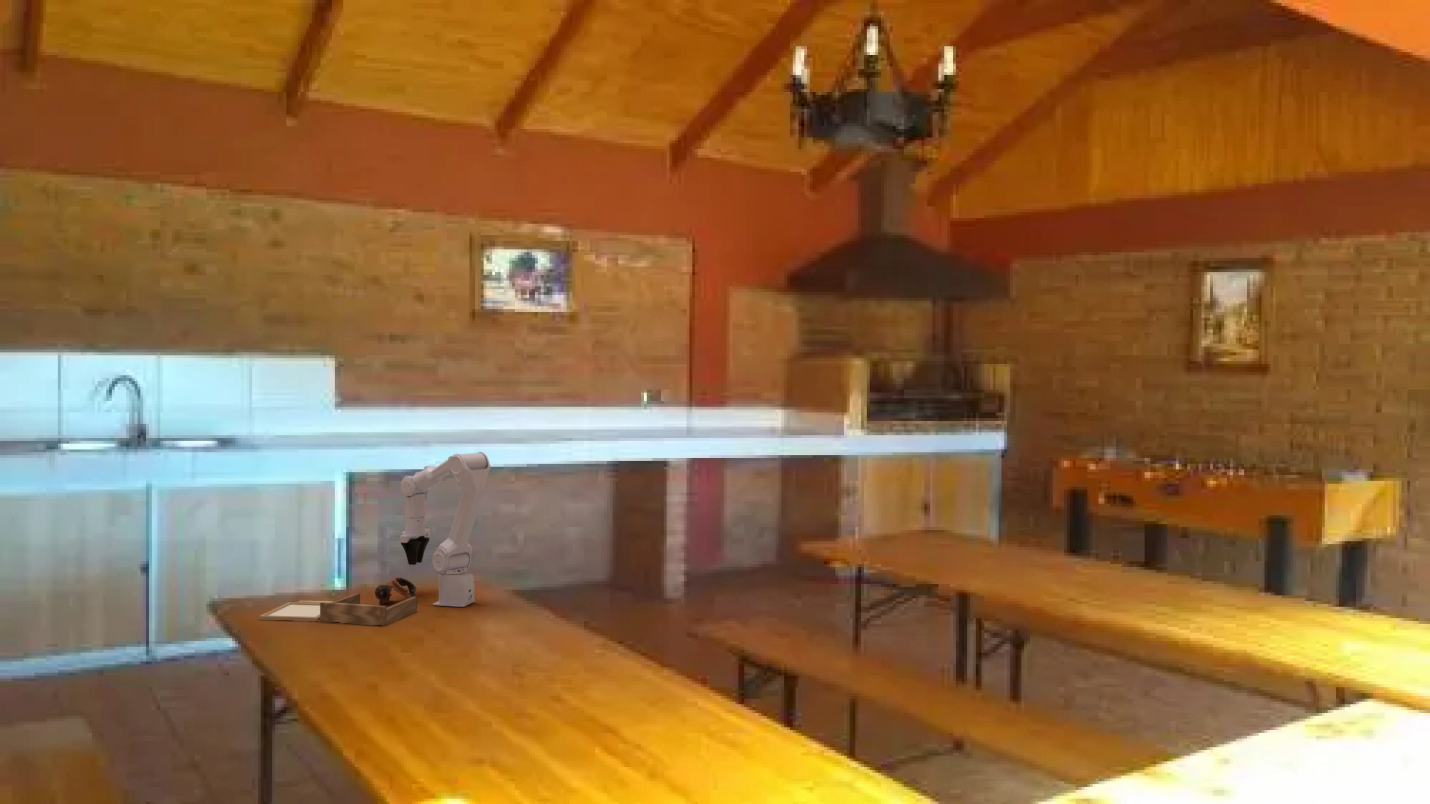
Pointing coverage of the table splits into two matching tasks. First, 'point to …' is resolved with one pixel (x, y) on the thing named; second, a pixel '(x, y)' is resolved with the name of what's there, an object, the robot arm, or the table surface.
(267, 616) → the lid
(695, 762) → the table surface
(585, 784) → the table surface
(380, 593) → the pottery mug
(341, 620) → the wooden tray
